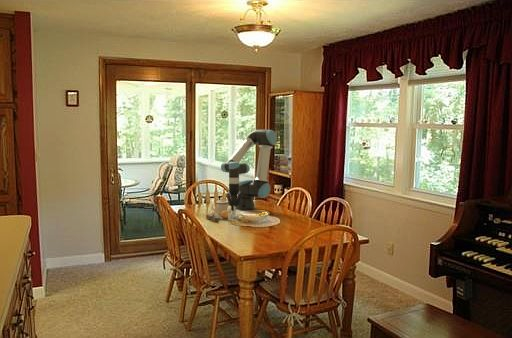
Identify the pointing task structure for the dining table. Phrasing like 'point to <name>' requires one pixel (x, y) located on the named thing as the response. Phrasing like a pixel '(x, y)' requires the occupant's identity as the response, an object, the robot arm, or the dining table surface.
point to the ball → (224, 214)
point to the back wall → (212, 218)
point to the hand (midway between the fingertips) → (233, 214)
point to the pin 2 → (229, 214)
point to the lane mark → (231, 217)
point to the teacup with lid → (220, 206)
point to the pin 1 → (215, 215)
